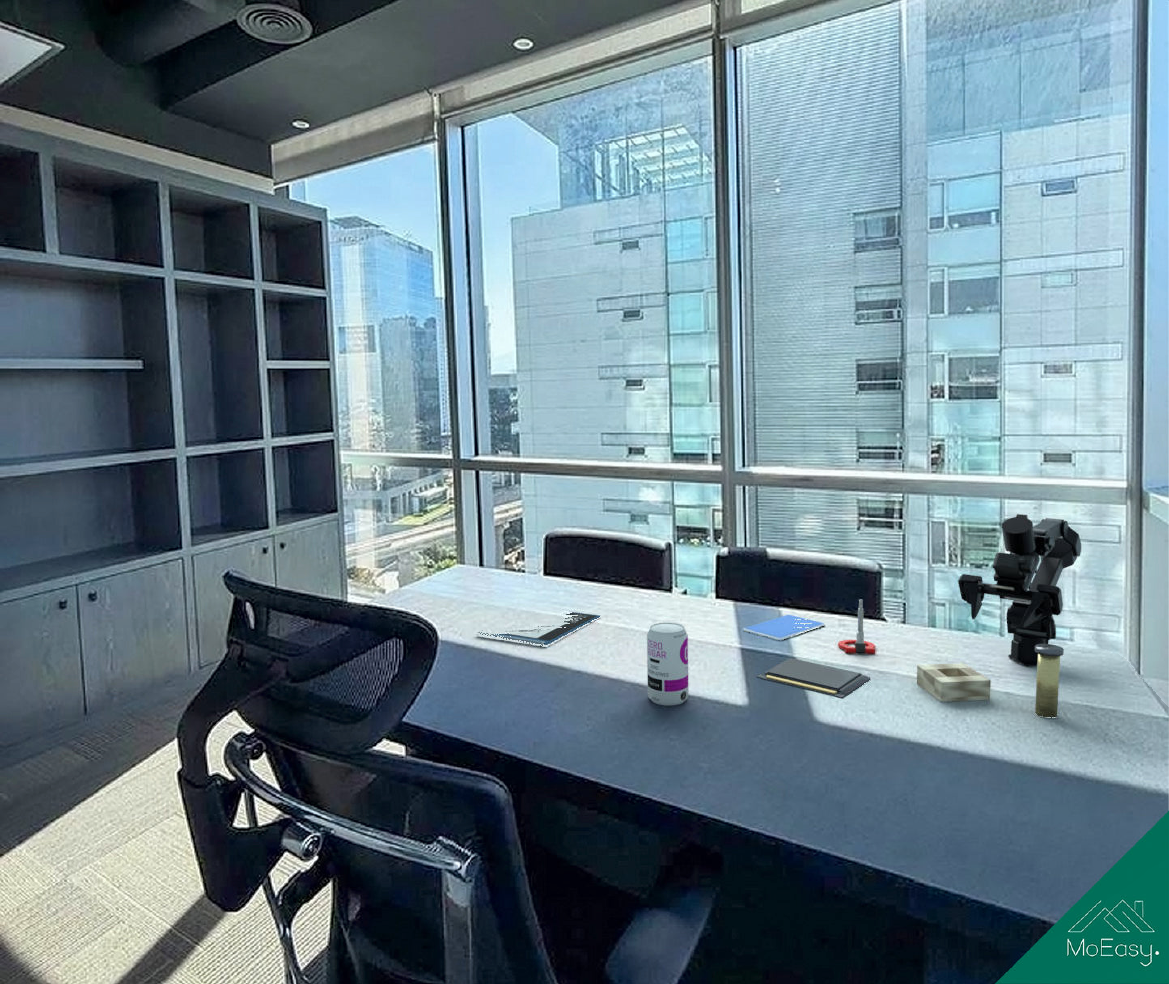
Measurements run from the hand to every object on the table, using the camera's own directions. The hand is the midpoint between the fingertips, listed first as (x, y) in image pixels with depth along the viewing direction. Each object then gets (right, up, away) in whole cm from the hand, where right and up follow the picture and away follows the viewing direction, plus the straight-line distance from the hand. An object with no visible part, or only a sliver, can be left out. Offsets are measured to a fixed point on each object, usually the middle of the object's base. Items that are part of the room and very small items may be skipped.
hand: (997, 621), depth 157 cm
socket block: (-7, -15, +3) cm, 17 cm away
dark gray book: (-33, -15, +13) cm, 39 cm away
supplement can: (-65, -17, +3) cm, 68 cm away
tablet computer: (-30, -11, +49) cm, 58 cm away
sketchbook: (-95, -11, +55) cm, 110 cm away
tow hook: (-17, -12, +32) cm, 38 cm away
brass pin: (+4, -16, -9) cm, 19 cm away
